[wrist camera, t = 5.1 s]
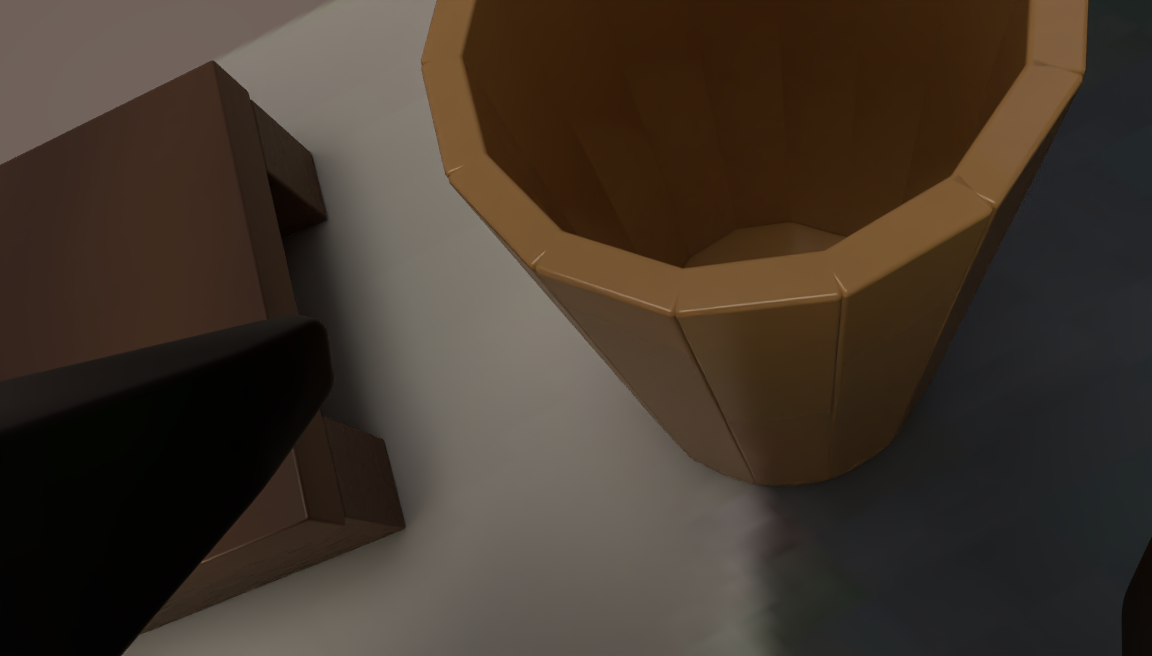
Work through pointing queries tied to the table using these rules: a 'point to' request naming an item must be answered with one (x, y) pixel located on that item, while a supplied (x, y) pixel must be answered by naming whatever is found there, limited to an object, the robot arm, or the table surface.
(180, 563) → the robot arm
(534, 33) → the cup
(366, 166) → the table surface
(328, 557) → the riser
